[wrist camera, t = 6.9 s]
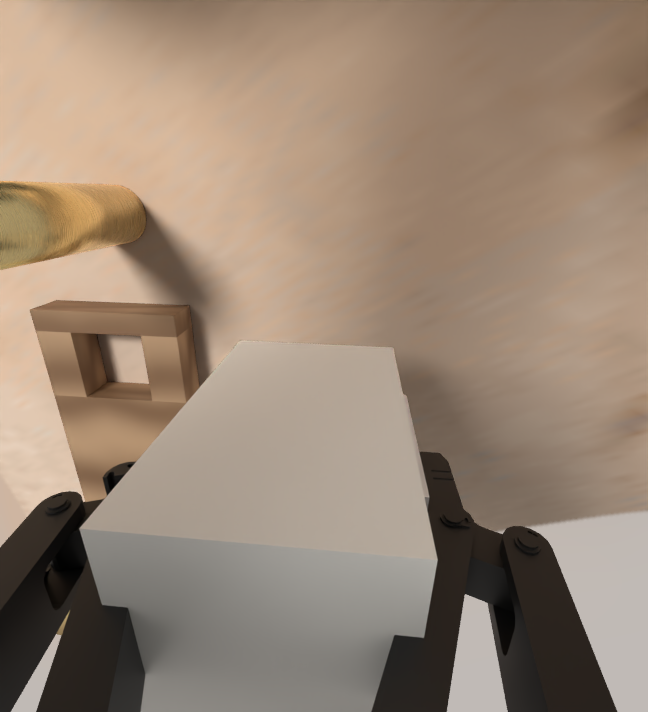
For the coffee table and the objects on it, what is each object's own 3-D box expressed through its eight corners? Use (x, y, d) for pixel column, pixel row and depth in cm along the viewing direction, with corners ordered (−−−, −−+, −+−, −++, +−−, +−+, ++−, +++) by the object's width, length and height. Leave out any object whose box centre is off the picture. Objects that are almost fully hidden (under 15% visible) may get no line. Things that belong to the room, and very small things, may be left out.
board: (56, 300, 28) (-139, 368, 17) (189, 305, 27) (74, 380, 16) (111, 510, 36) (1, 649, 25) (215, 518, 35) (149, 666, 24)
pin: (87, 184, 25) (-130, 177, 14) (141, 185, 25) (-38, 178, 14) (99, 242, 26) (-90, 277, 15) (150, 243, 26) (-5, 280, 15)
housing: (239, 340, 18) (79, 528, 8) (393, 347, 17) (437, 560, 7) (248, 464, 20) (138, 725, 10) (381, 474, 20) (402, 759, 10)
